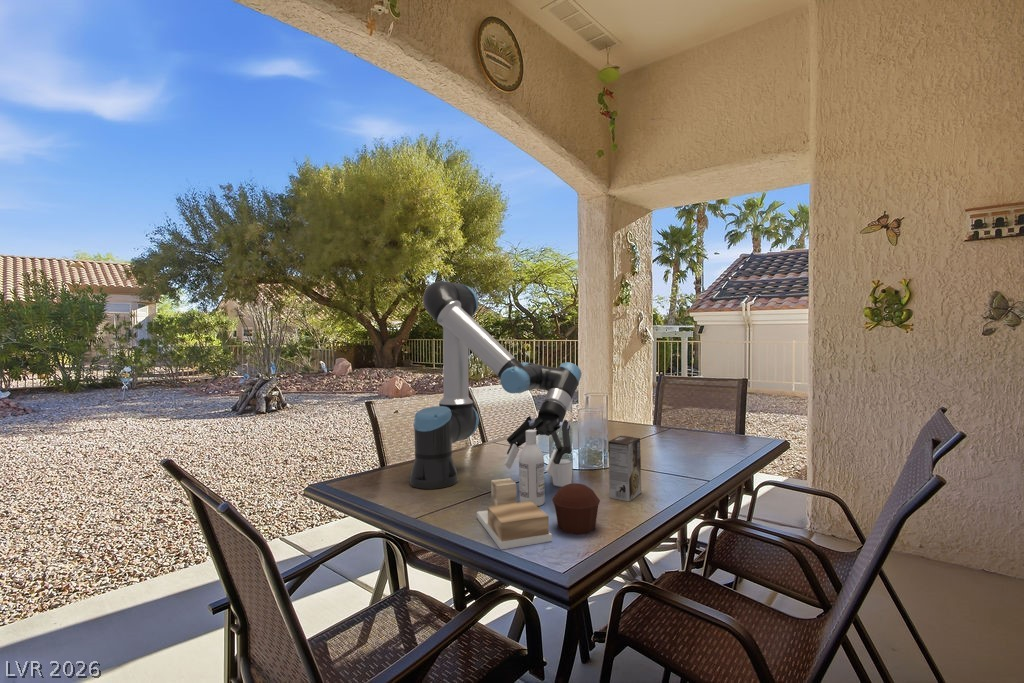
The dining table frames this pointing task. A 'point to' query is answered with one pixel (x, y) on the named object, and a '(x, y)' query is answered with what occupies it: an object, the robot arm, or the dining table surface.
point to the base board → (483, 519)
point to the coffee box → (624, 468)
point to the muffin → (576, 509)
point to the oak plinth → (518, 520)
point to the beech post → (503, 492)
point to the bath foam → (531, 471)
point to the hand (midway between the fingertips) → (527, 469)
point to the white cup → (562, 473)
